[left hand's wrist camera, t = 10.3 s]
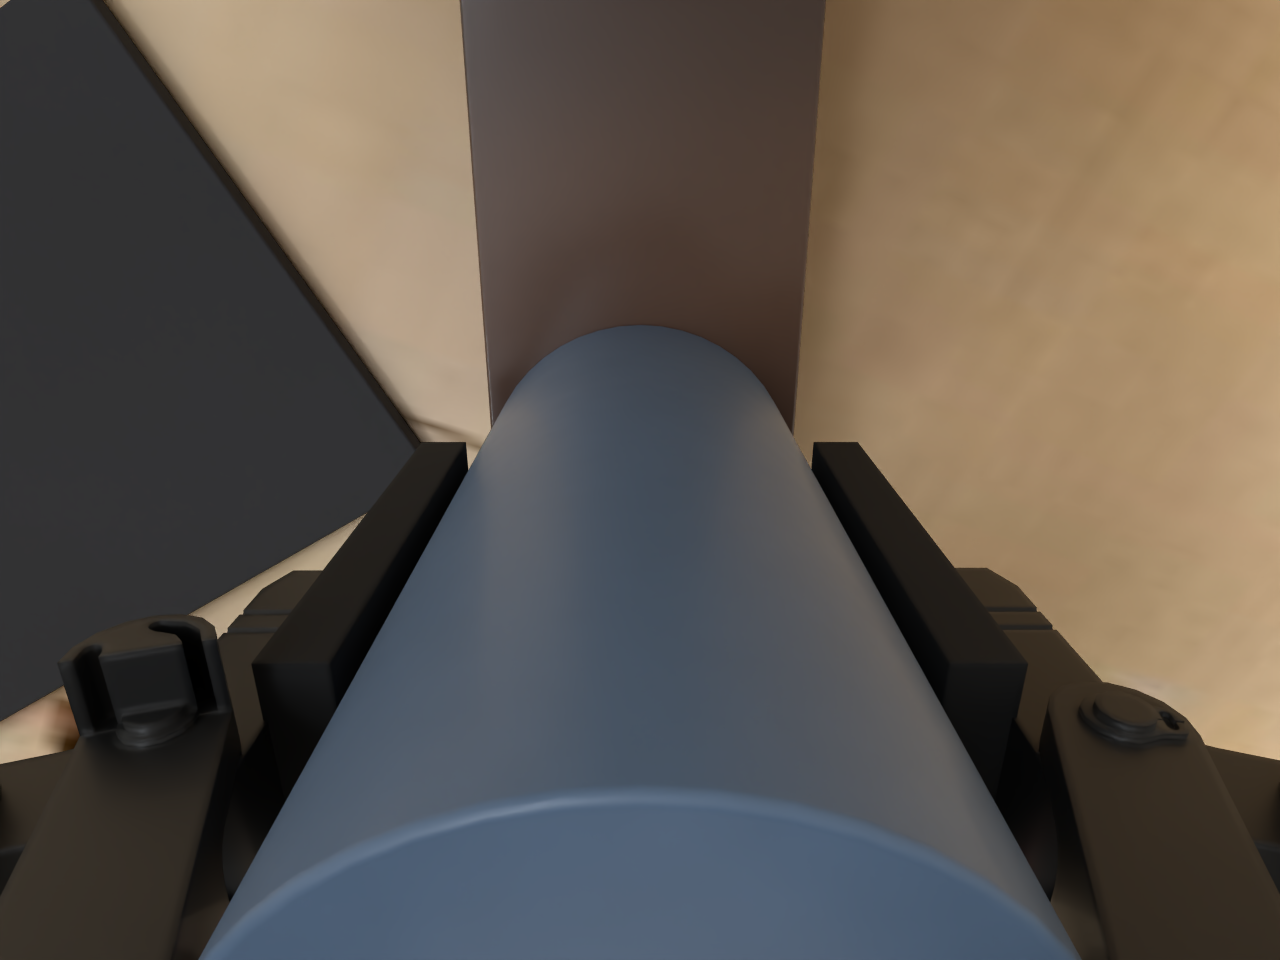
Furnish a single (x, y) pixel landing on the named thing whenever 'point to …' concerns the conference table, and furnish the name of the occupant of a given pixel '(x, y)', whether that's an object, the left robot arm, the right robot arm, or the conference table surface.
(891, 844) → the slate blue cylinder
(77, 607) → the mat
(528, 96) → the brown rectangular block
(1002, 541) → the conference table surface
